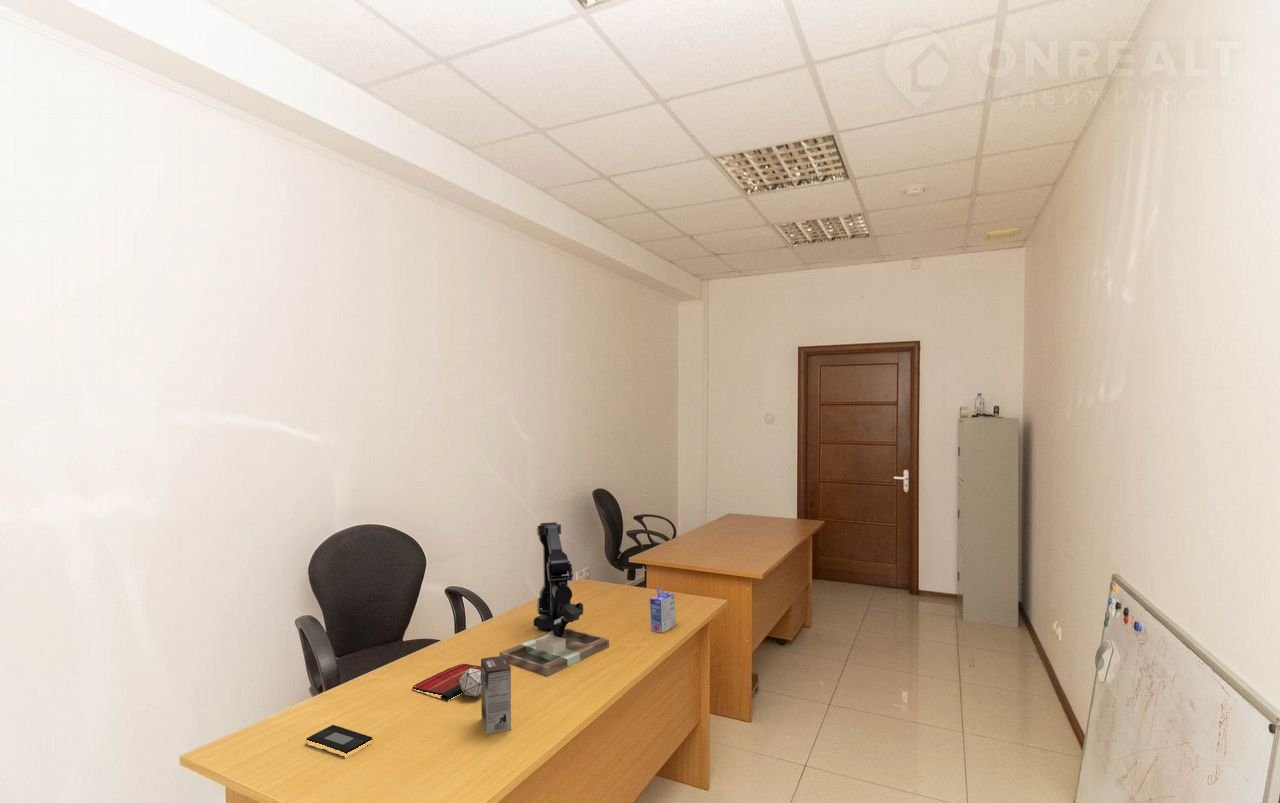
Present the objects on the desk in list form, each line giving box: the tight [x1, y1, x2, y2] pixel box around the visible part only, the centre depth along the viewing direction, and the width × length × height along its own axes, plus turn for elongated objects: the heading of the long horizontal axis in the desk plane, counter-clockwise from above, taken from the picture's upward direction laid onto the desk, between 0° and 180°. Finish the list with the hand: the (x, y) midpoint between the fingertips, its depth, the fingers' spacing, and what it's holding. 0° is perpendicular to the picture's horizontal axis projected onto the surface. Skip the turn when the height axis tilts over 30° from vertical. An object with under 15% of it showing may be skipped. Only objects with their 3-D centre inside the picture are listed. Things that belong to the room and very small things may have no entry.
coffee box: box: [480, 655, 512, 735], centre depth 163 cm, size 9×6×16 cm
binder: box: [412, 663, 481, 701], centre depth 189 cm, size 16×2×21 cm
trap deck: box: [499, 626, 610, 677], centre depth 211 cm, size 22×30×2 cm
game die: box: [455, 664, 481, 700], centre depth 180 cm, size 9×8×10 cm
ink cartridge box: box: [649, 587, 677, 634], centre depth 235 cm, size 10×6×14 cm, turn 145°
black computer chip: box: [306, 724, 373, 754], centre depth 154 cm, size 8×14×2 cm, turn 64°
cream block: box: [536, 634, 566, 654], centre depth 209 cm, size 8×6×3 cm
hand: (559, 641), depth 213 cm, fingers closed
